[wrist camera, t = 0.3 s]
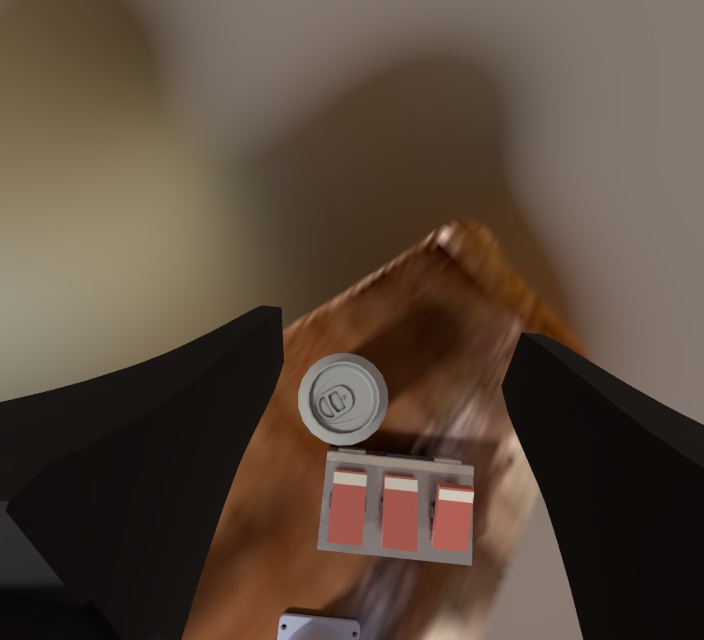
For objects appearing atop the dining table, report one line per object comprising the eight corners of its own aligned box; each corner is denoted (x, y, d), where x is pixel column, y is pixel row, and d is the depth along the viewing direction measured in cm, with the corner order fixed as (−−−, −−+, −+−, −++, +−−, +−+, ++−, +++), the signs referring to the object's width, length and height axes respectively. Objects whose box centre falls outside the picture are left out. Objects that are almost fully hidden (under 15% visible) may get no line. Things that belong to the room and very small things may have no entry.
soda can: (299, 384, 38) (279, 379, 26) (356, 352, 39) (360, 334, 27) (331, 443, 37) (324, 467, 25) (388, 409, 37) (408, 416, 26)
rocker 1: (361, 544, 30) (362, 546, 29) (327, 541, 30) (326, 542, 29) (366, 473, 33) (366, 472, 32) (334, 469, 33) (334, 469, 32)
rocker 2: (415, 550, 30) (417, 551, 29) (380, 546, 30) (382, 548, 29) (415, 478, 33) (417, 478, 32) (383, 475, 33) (385, 474, 32)
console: (461, 551, 34) (475, 570, 31) (319, 536, 34) (316, 553, 31) (463, 457, 36) (476, 464, 33) (329, 443, 37) (327, 449, 33)
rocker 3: (463, 546, 32) (467, 552, 31) (430, 542, 32) (433, 549, 31) (471, 485, 31) (474, 490, 31) (437, 482, 31) (440, 486, 31)
